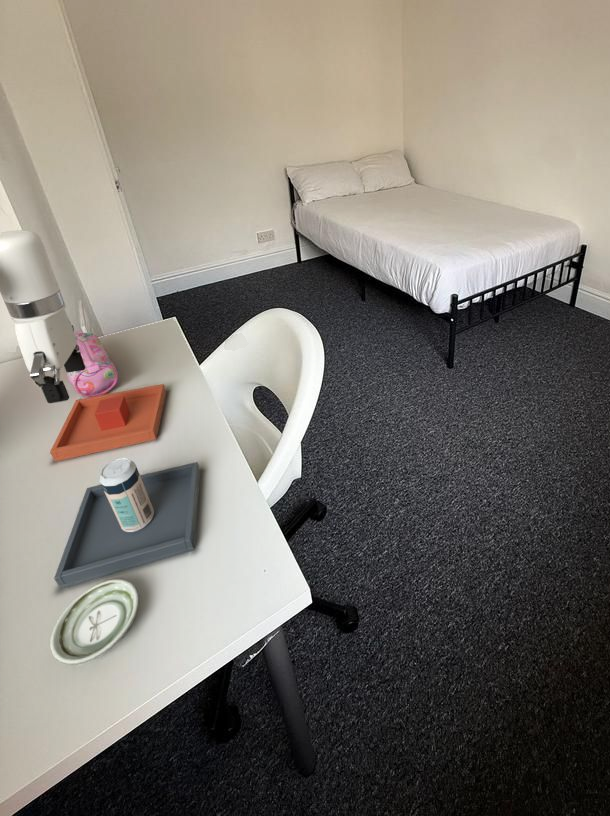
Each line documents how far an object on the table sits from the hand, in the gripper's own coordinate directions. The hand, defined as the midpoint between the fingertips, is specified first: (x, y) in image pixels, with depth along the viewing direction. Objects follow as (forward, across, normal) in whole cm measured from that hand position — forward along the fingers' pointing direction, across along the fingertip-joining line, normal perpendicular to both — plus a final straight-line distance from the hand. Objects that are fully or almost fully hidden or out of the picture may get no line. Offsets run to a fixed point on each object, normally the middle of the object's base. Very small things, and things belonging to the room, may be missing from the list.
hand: (68, 385), depth 79 cm
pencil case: (+13, -23, -5) cm, 27 cm away
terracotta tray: (+13, -3, +4) cm, 14 cm away
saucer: (+14, +39, +11) cm, 43 cm away
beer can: (+13, +24, +13) cm, 30 cm away
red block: (+13, -3, +4) cm, 14 cm away
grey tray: (+13, +24, +13) cm, 31 cm away
